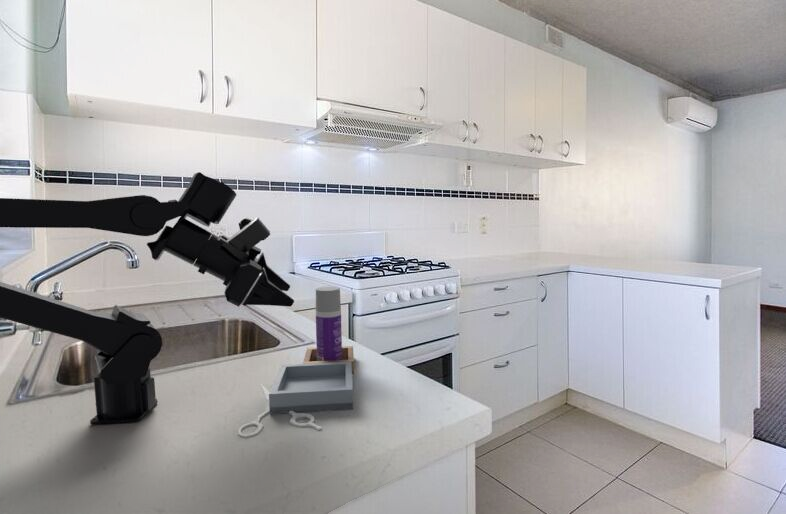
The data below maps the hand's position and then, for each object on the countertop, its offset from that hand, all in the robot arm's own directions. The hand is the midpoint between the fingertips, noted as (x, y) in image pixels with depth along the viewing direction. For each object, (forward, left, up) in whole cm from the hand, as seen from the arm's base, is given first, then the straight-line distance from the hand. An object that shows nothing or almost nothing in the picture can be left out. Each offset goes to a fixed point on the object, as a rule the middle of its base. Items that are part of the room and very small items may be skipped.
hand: (290, 295), depth 72 cm
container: (+6, +6, -15) cm, 18 cm away
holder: (+6, +6, -15) cm, 17 cm away
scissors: (-2, -9, -16) cm, 18 cm away
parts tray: (+4, -6, -15) cm, 17 cm away
